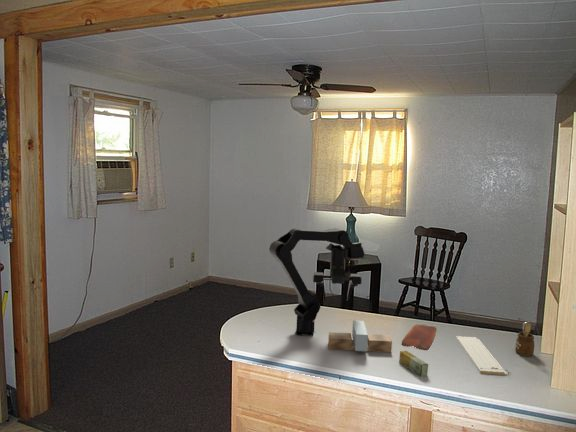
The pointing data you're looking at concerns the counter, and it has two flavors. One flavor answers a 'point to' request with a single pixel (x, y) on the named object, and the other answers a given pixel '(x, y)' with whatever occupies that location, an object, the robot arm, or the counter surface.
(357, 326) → the pale blue block
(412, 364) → the medication box
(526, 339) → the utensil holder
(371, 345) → the notched beam
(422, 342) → the wooden tablet
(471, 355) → the baseboard
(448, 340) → the counter surface
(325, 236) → the robot arm
